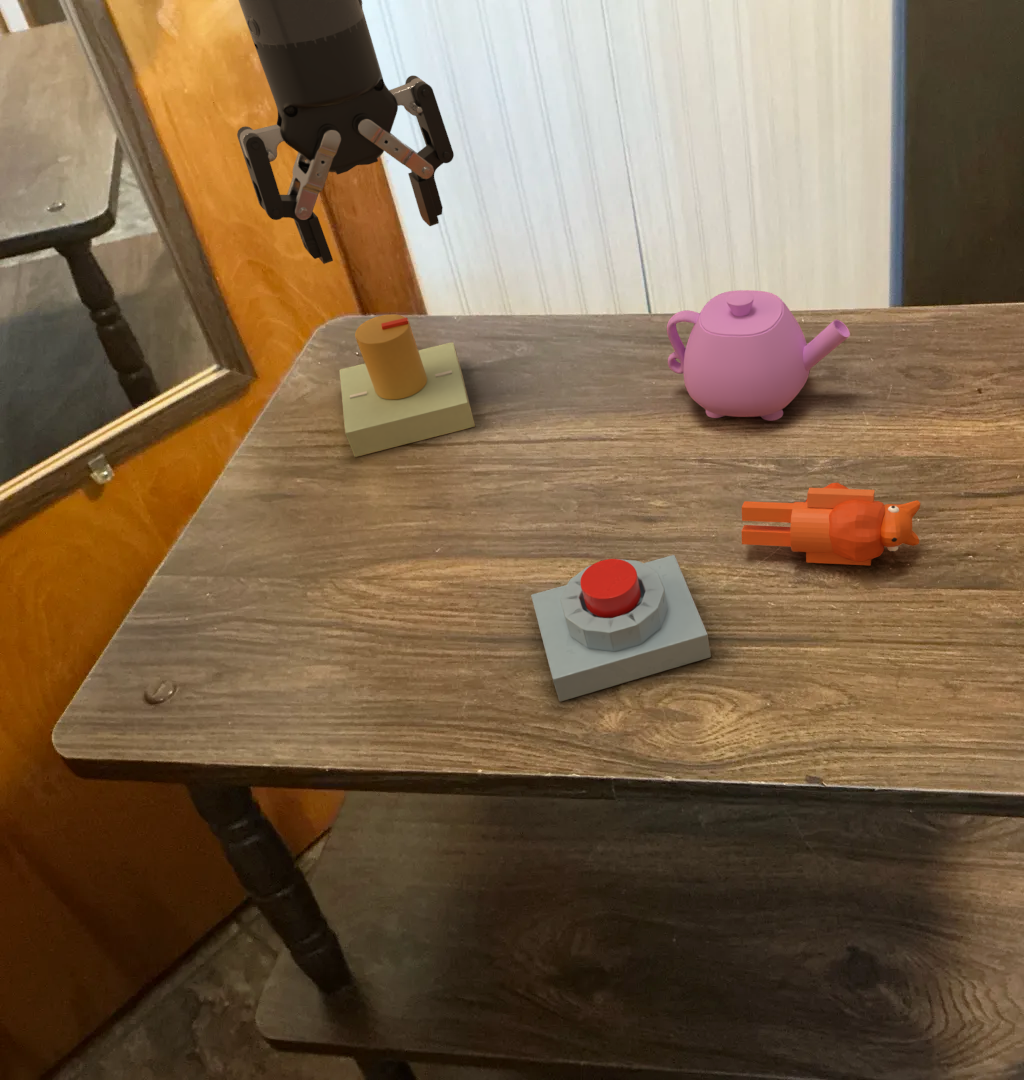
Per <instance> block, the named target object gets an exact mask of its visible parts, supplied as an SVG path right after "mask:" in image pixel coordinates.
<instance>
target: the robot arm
mask: <svg viewBox="0 0 1024 1080" xmlns="http://www.w3.org/2000/svg"><path fill="white" fill-rule="evenodd" d="M238 3H239V7H240V8H241V11H242V14H243V17H244V20H245V22H246V25H247V28H248V31H249V34H250V37H251V38H252V42H253V44H254V47H255V51H256V53H257V56H258V58H259V61H260V64H261V68H262V70H263V73H264V75H265V78H266V80H267V84H268V87H269V88H270V92H271V95H272V97H273V100H274V103H275V106H276V109H277V119H276V124H273V125H267V126H264V127H260V128H255V129H253V128H252V127H250V126H246V125H245V126H242V127H240V128H239V129H238V131H237V133H236V137H237V140H238V143H239V145H240V149H241V153H242V155H243V158H244V159H243V160H244V162H245V164H246V168H247V170H248V174H249V178H250V180H251V183H252V187H253V189H254V193H255V196H256V198H257V201H258V205H259V206H260V207H261V208H262V210H264V211H265V213H266V215H267V216H268V217H269V219H271V220H274V221H278V220H282V219H283V218H286V219H287V218H288V219H293V220H294V223H295V226H296V229H297V231H298V234H299V237H300V239H301V242H302V245H303V247H304V249H305V250H306V251H307V253H308V254H309V255H310V256H311V257H312V258H313V259H314V260H316V259H319V260H320V262H321V263H322V264H323V265H325V264H328V263H331V262H333V261H334V259H333V256H332V253H331V250H330V248H329V244H328V242H327V239H326V237H325V234H324V231H323V227H322V225H321V223H320V220H319V217H318V216H317V214H316V213H315V212H314V211H313V210H314V209H315V206H316V203H317V199H318V197H319V194H320V193H321V192H322V191H323V190H324V187H325V184H326V181H327V178H328V175H329V173H335V174H336V175H341V174H343V173H347V172H349V171H350V170H352V169H354V168H355V167H356V166H368V165H371V164H375V163H377V162H379V158H380V157H381V156H382V155H383V153H384V152H385V153H387V154H388V155H389V156H391V158H393V159H394V160H396V161H397V162H399V163H400V164H402V165H403V166H405V167H406V168H408V169H409V170H410V171H411V172H408V173H407V174H408V177H409V181H410V184H411V188H412V191H413V195H414V198H415V201H416V205H417V208H418V211H419V215H420V217H421V219H422V221H424V223H426V225H428V226H429V227H432V226H436V225H438V224H439V223H440V222H439V221H440V220H439V217H438V216H441V215H443V208H444V207H443V204H442V200H441V196H440V193H439V190H438V185H437V183H436V179H435V173H436V171H437V170H438V169H439V167H441V166H442V165H443V164H449V163H451V162H452V161H453V160H454V156H455V154H454V150H453V148H452V144H451V141H450V138H449V135H448V132H447V129H446V125H445V123H444V120H443V117H442V114H441V110H440V107H439V104H438V102H437V101H438V100H437V98H436V96H435V93H434V90H433V87H432V86H431V85H430V84H428V83H427V82H426V81H424V80H423V79H422V78H420V77H419V76H417V75H410V76H408V77H407V78H406V80H405V84H402V85H400V86H397V87H394V88H392V89H388V87H387V85H386V83H385V81H384V78H383V73H382V71H381V67H380V63H379V60H378V57H377V53H376V50H375V47H374V43H373V40H372V36H371V33H370V29H369V25H368V23H367V20H366V15H365V12H364V8H363V0H238ZM400 106H402V107H403V108H404V110H405V111H407V112H408V114H410V115H412V116H414V117H416V121H417V123H418V127H419V129H420V132H421V135H422V138H423V141H424V144H425V146H424V147H423V148H422V149H420V150H419V151H418V152H417V151H415V150H414V149H413V148H411V147H410V146H409V145H408V144H407V143H405V142H403V141H402V140H401V139H400V138H398V137H397V136H396V135H394V134H393V133H392V129H393V126H394V123H395V120H396V117H397V113H398V109H399V107H400ZM283 142H284V143H285V144H286V145H288V146H289V147H290V148H292V149H293V150H294V151H296V152H297V155H296V158H295V161H294V163H293V167H292V179H291V182H290V184H289V188H288V191H287V193H286V194H280V190H279V186H278V183H277V181H276V178H275V174H274V171H273V167H272V164H271V162H274V161H275V160H276V159H277V157H278V146H279V145H280V144H281V143H283Z"/></svg>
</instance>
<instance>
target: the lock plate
mask: <svg viewBox="0 0 1024 1080" xmlns="http://www.w3.org/2000/svg"><path fill="white" fill-rule="evenodd" d="M418 351H419V354H420V357H421V360H422V363H423V367H424V370H425V373H426V376H427V383H426V385H425V386H424V387H423V388H422V389H421V390H420V391H419V392H417V393H416V394H414V395H412V396H409V397H406V398H402V399H396V400H389V399H384V398H381V397H379V396H378V395H377V394H376V392H375V390H374V387H373V384H372V381H371V379H370V376H369V373H368V370H367V368H366V365H365V362H364V363H361V364H357V365H353V366H348V367H344V368H340V369H339V370H338V371H339V380H340V391H341V402H342V413H343V423H344V434H345V436H346V438H347V439H346V440H347V441H348V444H349V447H350V449H351V451H352V454H353V456H354V458H358V457H361V456H365V455H370V454H373V453H377V452H380V451H385V450H389V449H392V448H393V449H394V448H397V447H400V446H404V445H408V444H412V443H416V442H420V441H424V440H428V439H432V438H436V437H440V436H443V435H444V436H445V435H447V434H451V433H455V432H459V431H463V430H468V429H471V428H475V427H476V425H475V420H474V415H473V411H472V407H471V404H470V400H469V399H470V398H469V395H468V391H467V387H466V384H465V380H464V376H463V372H462V367H461V363H460V360H459V356H458V353H457V350H456V347H455V344H454V342H453V341H451V342H447V343H443V344H439V345H434V346H431V347H427V348H423V349H418Z"/></svg>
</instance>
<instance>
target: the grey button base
mask: <svg viewBox="0 0 1024 1080" xmlns="http://www.w3.org/2000/svg"><path fill="white" fill-rule="evenodd" d="M619 559H620V560H624V561H626V562H628V563H630V564H631V565H632V566H633V567H634V568H635V570H636V572H637V576H638V581H639V586H640V591H641V597H640V600H639V602H638V604H637V605H636V606H635V608H633V609H632V610H631V611H630V612H628V613H626V614H624V615H621V616H617V617H612V618H605V617H599V616H597V615H594V614H593V613H591V612H590V611H589V610H588V609H587V607H586V605H585V601H584V597H583V593H582V589H581V585H580V581H581V577H582V575H583V573H584V572H585V570H586V569H587V568H589V567H590V566H591V565H592V564H589V565H588V566H586V567H585V568H583V569H581V571H579V572H578V573H576V574H575V575H574V576H572V577H571V578H570V579H569V580H568V581H567V584H564V585H560V586H557V587H553V588H550V589H547V590H543V591H539V592H534V593H532V594H531V595H530V597H531V601H532V606H533V609H534V613H535V617H536V620H537V624H538V629H539V632H540V637H541V640H542V643H543V647H544V648H543V649H544V651H545V655H546V659H547V663H548V666H549V670H550V674H551V678H552V682H553V685H554V688H555V692H556V696H557V698H558V701H559V702H564V701H568V700H572V699H575V698H578V697H581V696H584V695H585V696H586V695H587V694H592V693H595V692H598V691H601V690H606V689H608V688H611V687H615V686H619V685H622V684H625V683H628V682H631V681H635V680H638V679H642V678H646V677H649V676H653V675H656V674H658V673H662V672H666V671H668V670H672V669H675V668H679V667H682V666H686V665H689V664H692V663H696V662H700V661H703V660H706V659H709V658H710V659H711V657H712V653H711V647H710V641H709V633H708V632H707V629H706V627H705V625H704V622H703V619H702V617H701V614H700V613H699V610H698V607H697V605H696V603H695V600H694V599H693V595H692V593H691V591H690V588H689V586H688V583H687V581H686V579H685V576H684V574H683V572H682V568H681V566H680V564H679V562H678V559H677V557H676V555H675V554H671V555H668V556H664V557H661V558H657V559H654V560H650V561H646V562H642V561H640V560H634V559H624V558H623V559H622V558H619Z"/></svg>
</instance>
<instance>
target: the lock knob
mask: <svg viewBox="0 0 1024 1080" xmlns="http://www.w3.org/2000/svg"><path fill="white" fill-rule="evenodd" d="M411 326H412V325H411V323H410V321H409V319H408V317H405V316H403V315H401V314H394V313H393V314H383V315H378V316H375V317H372V318H370V319H367V320H366V321H364V322H362V323H361V324H360V325H359V326H358V327H357V328H356V330H355V332H354V337H355V340H356V343H357V346H358V348H359V351H360V354H361V356H362V359H363V362H364V363H365V365H366V368H367V370H368V373H369V376H370V379H371V381H372V384H373V387H374V390H375V392H376V394H377V395H378V396H379V397H381V398H384V399H389V400H396V399H402V398H406V397H409V396H412V395H414V394H416V393H417V392H419V391H420V390H421V389H422V388H423V387H424V386H425V385H426V383H427V376H426V373H425V370H424V367H423V363H422V360H421V357H420V354H419V351H418V350H419V348H418V345H417V343H416V339H415V336H414V332H413V329H412V327H411Z"/></svg>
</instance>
